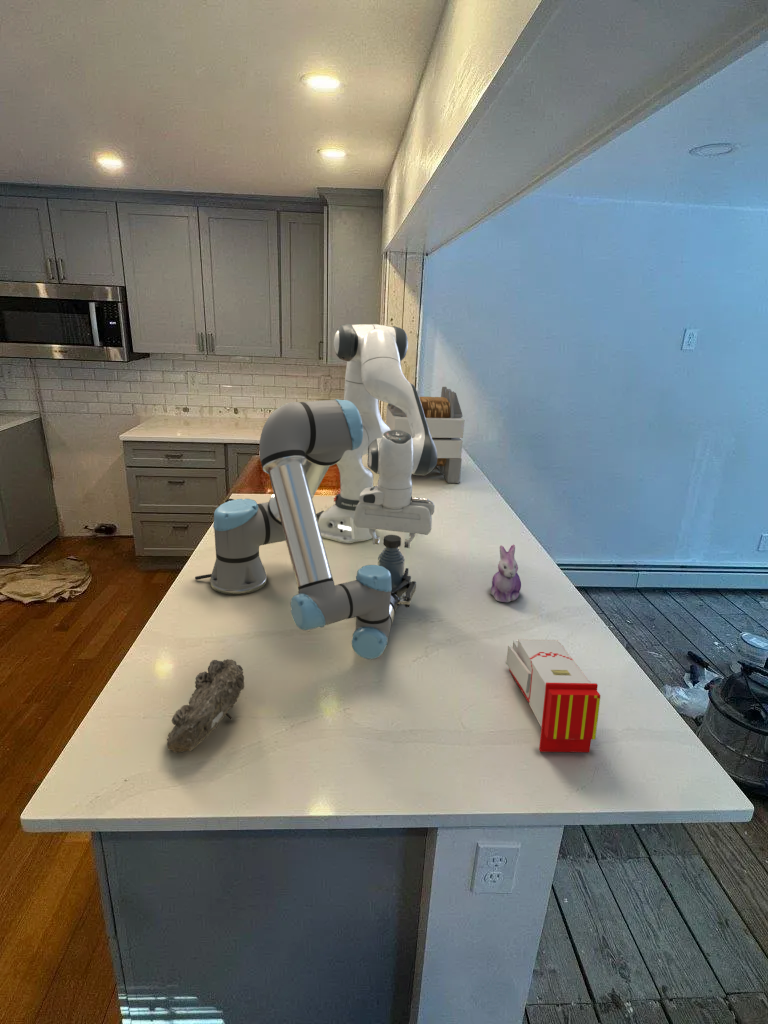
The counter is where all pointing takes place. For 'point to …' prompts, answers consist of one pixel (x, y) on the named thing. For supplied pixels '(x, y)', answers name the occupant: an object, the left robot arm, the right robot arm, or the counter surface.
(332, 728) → the counter surface
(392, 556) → the bottle
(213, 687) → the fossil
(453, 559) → the counter surface
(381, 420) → the right robot arm
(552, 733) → the toy
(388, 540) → the cap
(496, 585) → the figurine
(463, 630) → the counter surface
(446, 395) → the transformer
